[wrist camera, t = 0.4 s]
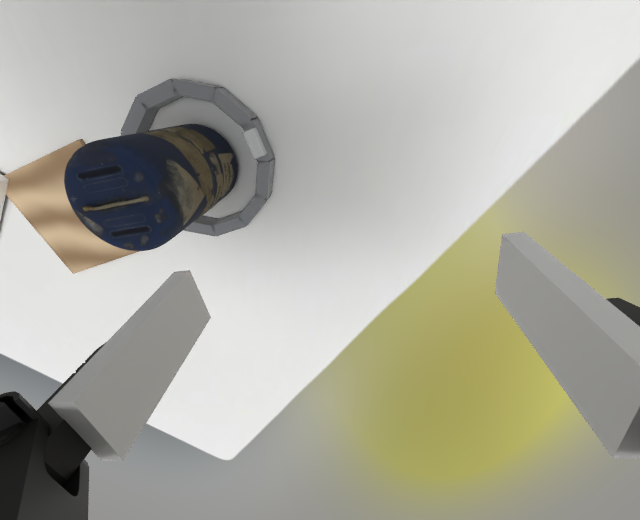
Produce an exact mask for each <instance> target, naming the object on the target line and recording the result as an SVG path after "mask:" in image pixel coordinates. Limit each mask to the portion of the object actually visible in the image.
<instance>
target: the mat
mask: <svg viewBox="0 0 640 520" xmlns="http://www.w3.org/2000/svg"><path fill="white" fill-rule="evenodd" d="M84 145H86V144H85V143H84V141H83V140H82V139H81V140H77V141H75V142H73V143H71V144H69V145H67V146H65V147H63V148H61V149H58V150H56V151H54V152H52V153H50V154H48V155H46V156H44V157H42V158H40V159H38V160H36V161H34V162H31V163H29V164H27V165H25V166H23V167H21V168H19V169H17V170H15V171H13V172H11V173H9V174H7V175H4V176H5V177H6V178H8V179H9V181H8V186H7V191H6V195H7V197H8V198H9V199H10V200H11V201H12V202H13V204H14V205H15V206H16V207H17V208H18V209H19V211H20V212H21V213H22V214H23V215H24V217H25V218H26V219H27V220H28V221H29V222H30V224H31V225H32V226H33V227H34V228H35V230H36V231H37V232H38V233H39V234H40V235H41V237H42V238H43V239H44V240H45V241H46V242H47V244H48V245H49V246H50V247H51V248H52V250H53V251H54V252H55V253H56V254H57V255H58V257H59V258H60V259H61V260H62V261H63V262H64V264H65V265H66V266H67V267H68V268H69V270H70V271H71V272H72V273H73V274H74V273H77V272H80V271H83V270H85V269H88V268H91V267H94V266H97V265H100V264H103V263H106V262H109V261H112V260H115V259H118V258H121V257H124V256H127V255H130V254H133V253H136V252H139V251H131V250H125V249H121V248H118V247H115V246H113V245H111V244H109V243H107V242H105V241H103V240H101V239H100V238H99V237H97V236H96V235H94V234H93V233H92V232H91V231H90V230H89V229H87V228H86V227H85V225H84V224H83V223H82V222H81V221H80V220H79V218H78V217H77V216H76V214H75V212H74V211H73V209H72V207H71V205H70V202H69V200H68V197H67V194H66V190H65V185H64V174H65V169H66V165H67V163H68V161H69V159H70V158H71V157H72V155H73V154H74V152H75V151H77V150H78V149H79V148H81V147H82V146H84Z"/></svg>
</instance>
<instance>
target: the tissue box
mask: <svg viewBox="0 0 640 520" xmlns="http://www.w3.org/2000/svg"><path fill="white" fill-rule="evenodd" d="M8 181H9V179H8V178H6V177H5V176H3V175H1V174H0V220H1V215H2V210H3V206H4V201H5V196H6V191H7V186H8Z"/></svg>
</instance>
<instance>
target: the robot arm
mask: <svg viewBox="0 0 640 520" xmlns="http://www.w3.org/2000/svg"><path fill="white" fill-rule="evenodd" d="M495 294H496V295H497V296H498V298H499V299H500V301H501V302H502V304H503V305H504V306H505V308H506V309H507V311H508V312H509V313H510V315H511V316H512V318H513V319H514V320H515V322H516V323H517V325H518V326H519V327H520V329H521V330H522V332H523V333H524V334H525V336H526V337H527V339H528V340H529V341H530V343H531V344H532V346H533V347H534V348H535V350H536V351H537V353H538V354H539V355H540V357H541V358H542V360H543V361H544V363H545V364H546V365H547V367H548V368H549V370H550V371H551V372H552V374H553V375H554V376H555V378H556V379H557V381H558V382H559V384H560V385H561V386H562V388H563V389H564V391H565V392H566V393H567V395H568V396H569V398H570V399H571V400H572V402H573V403H574V404H575V406H576V407H577V409H578V410H579V411H580V413H581V414H582V416H583V417H584V419H585V420H586V421H587V422H588V424H589V425H590V427H591V428H592V430H593V431H594V432H595V434H596V435H597V437H598V438H599V440H600V441H601V442H602V444H603V445H604V447H605V448H606V449H607V450H608V452H609V454H610V455H611V456H612V458H640V307H638V306H635V305H633V304H631V303H629V302H627V301H625V300H622V299H620V298H610V299H605V298H604V297H603V296H602V295H600V294H599V293H598V292H597V291H595V290H594V289H593V288H592V287H591V286H589V285H588V284H587V283H586V282H584V281H583V280H582V279H581V278H580V277H578V276H577V275H576V274H575V273H573V272H572V271H571V270H570V269H568V268H567V267H566V266H565V265H564V264H562V263H561V262H560V261H559V260H558V259H556V258H555V257H554V256H553V255H551V254H550V253H549V252H548V251H547V250H545V249H544V248H543V247H542V246H540V245H539V244H538V243H537V242H536V241H534V240H533V239H532V238H531V237H529V236H528V235H527V234H526V233H525V232H519V233H510V234H503V235H502V240H501V247H500V256H499V264H498V272H497V280H496V288H495ZM210 318H211V317H210V315H209V312H208V310H207V308H206V306H205V303H204V301H203V299H202V297H201V294H200V292H199V290H198V288H197V285H196V283H195V281H194V279H193V276H192V274H191V272H190V270H188V271H179V272H174V273H173V274H172V275H171V276H170V277H169V278H168V279H167V280H166V281H165V282H164V283H163V284H162V285H161V287H160V288H159V289H158V290H157V291H156V292H155V293H154V294H153V295H152V296H151V297H150V298H149V299H148V300H147V301H146V302H145V303H144V304H143V305H142V306H141V307H140V308H139V309H138V310H137V311H136V312H135V313H134V315H133V316H132V317H131V318H130V319H129V320H128V321H127V322H126V323H125V324H124V325H123V326H122V327H121V328H120V329H119V330H118V331H117V332H116V333H115V334H114V335H113V336H112V337H111V338H110V339H109V340H108V341H107V342H106V343H105V344H103V345H102V346H101V347H99V348H98V349H97V350H96V351H95V352H94V353H93V354H92V355H91V356H90V357H89V358H88V359H87V360H86V361H85V363H83V364H82V365H81V366H80V367H79V368H78V369H77V370H76V373H73V374H72V375H71V376H70V377H69V378H68V379H67V380H66V381H65V382H64V383H63V384H62V386H60V387H59V388H58V389H57V391H56V392H55V393H54V394H53V395H52V396H51V397H50V398H49V399H48V400H47V401H46V402H45V403H44V404H43V405H42V406H41V407H40V408H39V409H38V410H37V411H36V410H35V409H34V408H33V407H32V406H31V405H30V404H29V403H28V402H27V401H26V400H25V399H24V398H23V397H22V396H21V395H20V394H19V393H17V392H8V393H4V394H1V395H0V520H88V491H89V490H88V489H89V466H88V463H87V462H86V461H85V460H84V458H85V457H86V456H87V454H88V453H89V452H90V450H92V451H94V453H95V454H96V455H97V456H98V457H99V458H100V459H101V460H124V458H125V457H126V455H127V453H128V452H129V450H130V448H131V447H132V445H133V444H134V442H135V440H136V439H137V437H138V435H139V434H140V432H141V431H142V429H143V427H144V426H145V424H146V422H147V421H148V419H149V417H150V416H151V414H152V413H153V411H154V409H155V408H156V406H157V404H158V403H159V401H160V399H161V398H162V396H163V395H164V393H165V391H166V390H167V388H168V386H169V385H170V383H171V382H172V380H173V378H174V377H175V375H176V373H177V372H178V370H179V368H180V367H181V365H182V364H183V362H184V360H185V359H186V357H187V355H188V354H189V352H190V351H191V349H192V347H193V346H194V344H195V342H196V341H197V339H198V337H199V336H200V334H201V333H202V331H203V329H204V328H205V326H206V324H207V323H208V321H209V319H210Z"/></svg>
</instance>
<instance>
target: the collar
mask: <svg viewBox="0 0 640 520" xmlns="http://www.w3.org/2000/svg"><path fill="white" fill-rule="evenodd" d="M183 96H185V97H190V98H195V99H200V100H205V101H210V102H213V103H214V104H215V105H216V106H217V107H219V108H220V109H221V110H222V111H223V112H225V113H226V114H227V115H228V116H229V117H230V118H232V119H233V120H234V121H235V122H236V123H238V124H239V125H240V126H241V127H242V128H243V130H244V132H243V135H244V138H245V140H246V142H247V144H248V147H249V149H250V151H251V153H252V156H253V158H254V159H256V160H257V162H258V164H257V179H256V193H255V196H254V197H253V198H252V200H251V201H250V203H249V204H248V205H247V207H246V208H245V209H244V211H242V212H239V213H236V214H233V215H230V216H228V217H225V218H222V219H216V218H211V217H206V216H201V217H199V218H198V219H197V220H195V221H194V222H192V223H191V224H190V225H189V226H187V227H186V228H185V229H184V230H185V231H190V232H195V233H200V234H205V235H211V236H219V235H222V234H225V233H228V232H231V231H234V230H237V229H240V228H243V227H246V226H247V225H248V224H249V222H250V221H251V220H252V219H253V217H254V216H255V215H256V213H257V212H258V211H259V210H260V208H261V207H262V206H263V204H264V203H265V202H266V201H267V199H268V198H269V197H270V195H271V193H272V183H273V172H274V162H275V158H273V157H274V154H273V151H272V149H271V147H270V144H269V142H268V139H267V137H266V135H265V132H264V130H263V127H262V125H261V122H260V120H259V118H258V119H256V118H257V116H256V115H255V114H254V113H253V112H252V111H251V110H249V109H248V108H247V107H246V106H245V105H244V104H242V103H241V102H240V101H239V100H238V99H237V98H236V97H234V96H233V95H232V94H231V93H230V92H229V91H228V90H226V89H225V88H223V87H219V86H214V85H209V84H204V83H199V82H194V81H189V80H184V79H169V80H167V81H165V82H163V83H161V84H159V85H157V86H155V87H153V88H151V89H149V90H147V91H145V92H143V93H141V94H139V95H137V97H135V100H134V102H133V104H132V107H131V109H130V111H129V113H128V116H127V118H126V120H125V123H124V125H123V127H122V130H121V131H122V132H121V136H124V135H130V134H136V133H141V132H147V131H148V130H149V128H150V126H151V124H152V122H153V120H154V118H155V115H156V113H157V111H158V109H159V108H160V107H162V106H164V105H166V104H168V103H170V102H172V101H175V100H177V99H179V98H181V97H183Z"/></svg>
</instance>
